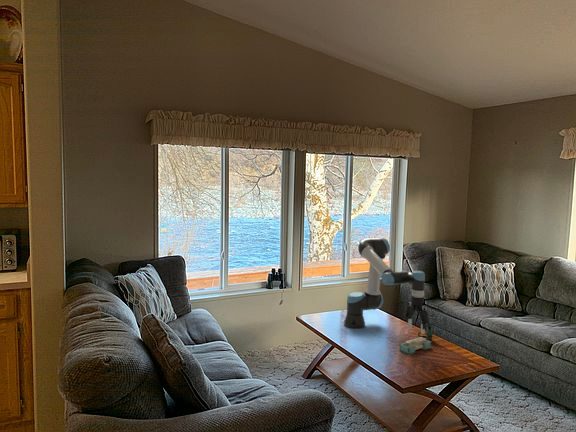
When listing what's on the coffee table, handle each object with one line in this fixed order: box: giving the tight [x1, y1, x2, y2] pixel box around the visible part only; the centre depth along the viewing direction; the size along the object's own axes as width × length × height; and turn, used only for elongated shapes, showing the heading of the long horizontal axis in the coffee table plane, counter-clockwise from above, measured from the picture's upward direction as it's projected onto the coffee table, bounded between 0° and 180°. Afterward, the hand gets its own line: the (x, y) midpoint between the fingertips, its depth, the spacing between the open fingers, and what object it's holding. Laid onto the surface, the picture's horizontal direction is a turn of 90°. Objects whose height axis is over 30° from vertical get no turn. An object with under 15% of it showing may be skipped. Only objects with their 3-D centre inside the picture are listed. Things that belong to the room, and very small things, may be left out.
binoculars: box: [417, 323, 434, 343], centre depth 288 cm, size 9×11×10 cm
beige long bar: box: [404, 336, 426, 351], centre depth 272 cm, size 4×16×5 cm, turn 127°
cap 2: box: [421, 339, 432, 350], centre depth 277 cm, size 8×6×4 cm
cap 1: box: [399, 342, 416, 355], centre depth 268 cm, size 8×6×4 cm
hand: (416, 331), depth 272 cm, fingers open, 9 cm apart
